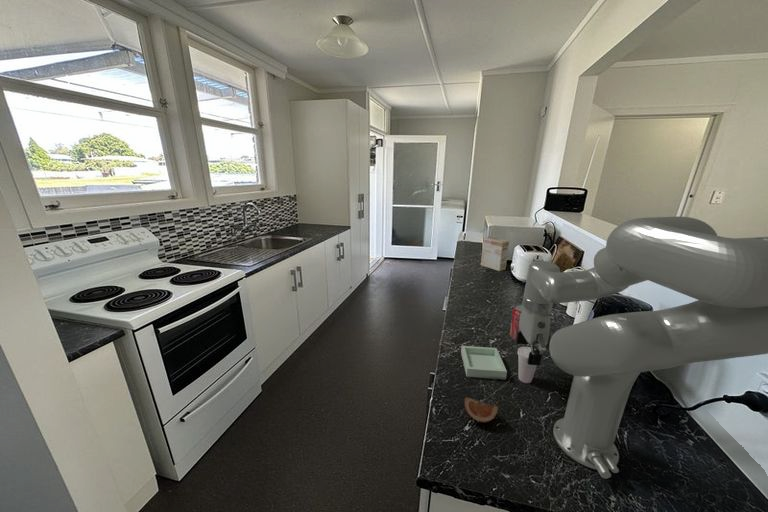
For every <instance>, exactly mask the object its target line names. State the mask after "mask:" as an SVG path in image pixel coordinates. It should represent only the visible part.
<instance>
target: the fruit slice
mask: <svg viewBox="0 0 768 512" xmlns="http://www.w3.org/2000/svg"><path fill="white" fill-rule="evenodd" d="M463 404H464V409H465V411H466V413H467V414H468V416H469V417H471V419H473V420H474V421H476V422H479V423H487V422H490V421H492V420H493V419H495V418H496V416H497V414H498V411H499V406H496V405H493V404H489V403H487V402H483V401H479V400H478V399H477V400H476V399H474V398H472V397H467V396H465V397H464V401H463Z"/></svg>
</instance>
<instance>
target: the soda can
mask: <svg viewBox="0 0 768 512" xmlns="http://www.w3.org/2000/svg"><path fill="white" fill-rule="evenodd" d="M522 308H523V307H522V303H520V304H516V305H515V306H514V308H513V309H512V314H511V316H512V317H511V323H510V332H509V335H510V336H509V337H511V339H513V340H514V341H517V335H518V328H519V320H520V315H521V311H522Z"/></svg>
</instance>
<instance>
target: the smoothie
mask: <svg viewBox="0 0 768 512" xmlns="http://www.w3.org/2000/svg"><path fill="white" fill-rule="evenodd" d="M533 343H535V342H533ZM534 350H536V348H534ZM529 352H531V346H521V347H518V349H517V353H516V354H517V355H518V358H517V359H518V373H517V374H518V377H517V378H518V380H520V382H521V383H524V384H531V383H532V382H533V378H534V375H535V372H536V370H537V367H538V365H529V364H528V363H527V362H528V357H529Z"/></svg>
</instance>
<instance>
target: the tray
mask: <svg viewBox="0 0 768 512" xmlns="http://www.w3.org/2000/svg"><path fill="white" fill-rule="evenodd" d="M460 348H461V349H460V354H461V358H462V363H463V368H464V371H465V376H466V377H468V378H481V379H491V380H492V379H493V380H507V375H508V374H507V373H508V371H507V369H506V366H505V364H504V362H503V359H502V357H501V354H500V353H499V349H498V348H497V347H486V346H485V347H483V346H470V345H461V347H460Z"/></svg>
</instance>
